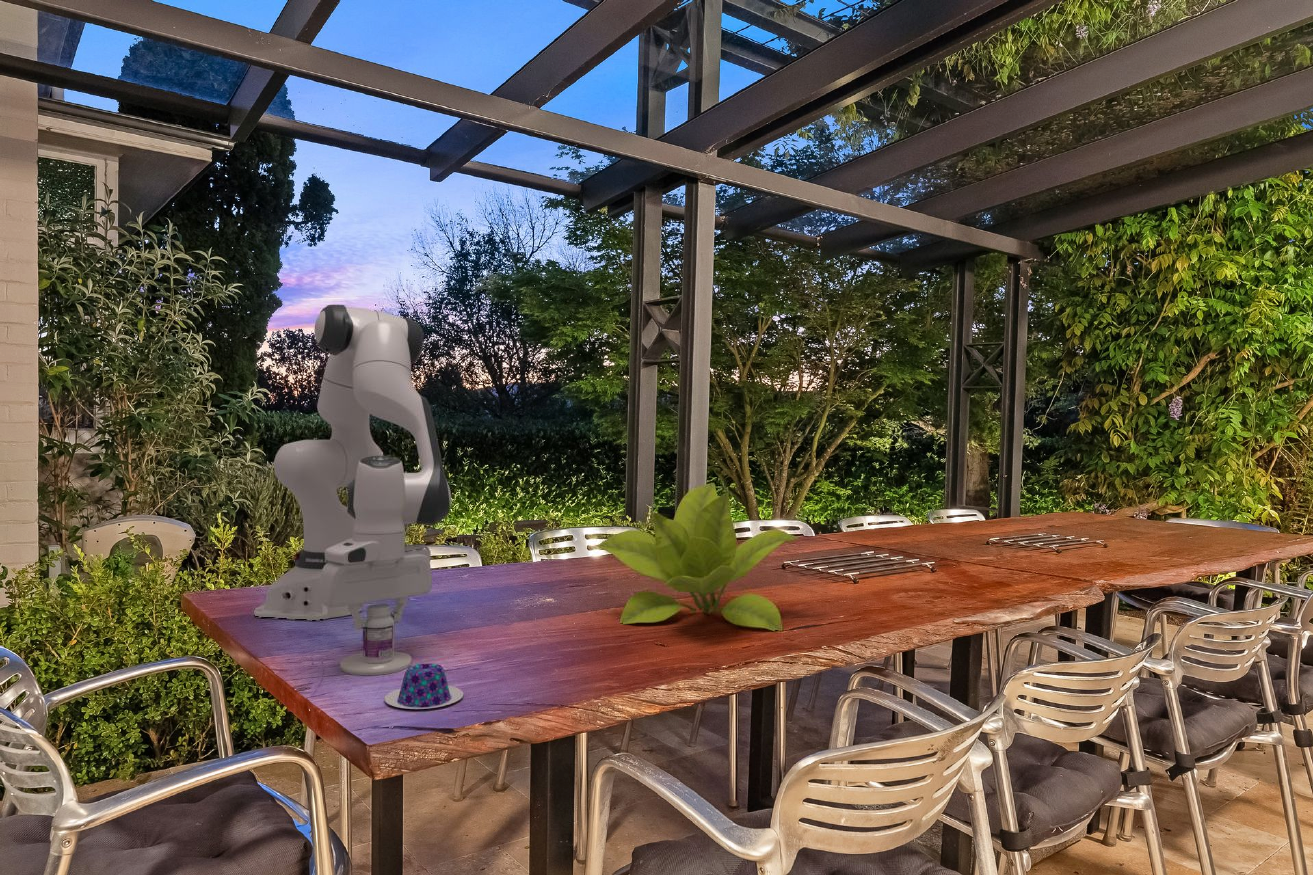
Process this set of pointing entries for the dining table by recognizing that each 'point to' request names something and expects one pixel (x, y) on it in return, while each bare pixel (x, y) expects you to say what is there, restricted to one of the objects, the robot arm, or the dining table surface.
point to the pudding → (424, 688)
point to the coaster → (375, 665)
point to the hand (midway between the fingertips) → (377, 625)
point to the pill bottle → (378, 635)
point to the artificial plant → (696, 561)
